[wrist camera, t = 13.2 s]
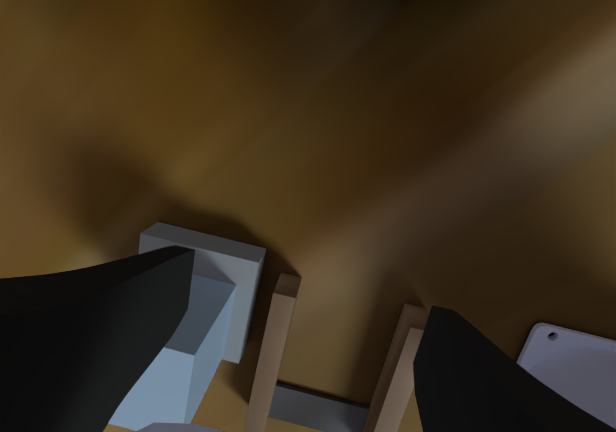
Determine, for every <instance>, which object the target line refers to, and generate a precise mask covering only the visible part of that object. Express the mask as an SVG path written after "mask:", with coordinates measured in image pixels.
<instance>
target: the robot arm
mask: <svg viewBox="0 0 616 432" xmlns="http://www.w3.org/2000/svg"><path fill="white" fill-rule="evenodd" d="M194 256H195V250H194V249H190V248H186V247H181V246H177V245H174V246H168V247H163V248H159V249H156V250H152V251H149V252H145V253H142V254H138V255H135V256H131V257H128V258H124V259H120V260H116V261H112V262H108V263H104V264H100V265H96V266H92V267H87V268H82V269H77V270H72V271H65V272H59V273H53V274H45V275H36V276H25V277H14V278H2V279H0V432H103V430H104V429H105V427H106V426H107V424H108V422H109V421H110V419H111V418H112V416H113V414H114V413H115V411H116V410H117V408H118V406H119V405H120V404H121V402H122V401H123V399H124V398H125V397H126V395H127V394H128V392H129V391H130V390H131V389H132V387H133V386H134V385H135V383H136V382H137V381H138V380H139V378H140V377H141V376H142V375H143V373H144V372H145V371H146V369H147V368H148V367H149V366H150V364H151V363H152V362H153V361H154V359H155V358H156V357H157V355H158V354H159V353H160V352H161V350H162V349H163V348H164V346H165V345H166V344H167V342H168V341H169V340H170V338H171V337H172V336H173V334H174V333H175V331H176V329H177V327H178V326H179V324H180V322H181V321H182V319H183V317H184V315H185V313H186V311H187V310H188V304H189V296H190V288H191V280H192V272H193V264H194ZM552 332H555V333H554V335H553V336H550V337H548V335H549V334H550V333H552ZM413 374H414V387H415V396H416V401H417V405H418V410H419V415H420V419H421V424H422V428H423V432H616V341H615V340H611V339H607V338H603V337H599V336H595V335H591V334H587V333H583V332H579V331H575V330H571V329H567V328H563V327H559V326H555V325H551V324H547V323H538V324H536V325H534V326H533V328H532V330H531V332H530V334H529V336H528V338H527V340H526V343H525V345H524V347H523V349H522V351H521V354H520V356H519V358H518V360H517V362H515V361H513V360H512V359H511V358H510V357H509V356H507V355H506V354H505V353H504V352H503V351H501V350H500V349H499V348H498V347H497V346H496V345H495V344H493V343H492V342H491V341H490V340H489V339H488V338H486V337H485V336H484V335H483V334H482V333H481V332H480V331H479V330H477V329H476V328H475V327H474V326H473V325H472V324H471V323H469V322H468V321H467V320H466V319H465V318H463V317H462V316H461V315H460V314H458V313H457V312H455V311H454V310H450V309H446V308H442V307H437V306H433V305H432V308H431V311H430V314H429V317H428V320H427V323H426V326H425V329H424V332H423V335H422V338H421V341H420V344H419V346H418V349H417V352H416V355H415V358H414V361H413ZM136 432H224V431H220V430H216V429H212V428H208V427H205V426H201V425H197V424H184V423H152V424H150V425H148V426H146V427H144V428H142V429H140V430H138V431H136Z"/></svg>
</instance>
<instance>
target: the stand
mask: <svg viewBox="0 0 616 432" xmlns="http://www.w3.org/2000/svg"><path fill="white" fill-rule="evenodd" d="M174 245H177V246H181V247H186V248H190V249H194V250H195V256H194V264H193V272H192V274H193V275H197V276H201V277H205V278H209V279H213V280H217V281H221V282H225V283H229V284H233V285H237V286H236V291H235V296H234V302H233V307H232V313H231V318H230V323H229V329H228V334H227V339H226V345H225V350H224V355H223V357H222V360H226V361H230V362H234V363H238V364H239V362H240V359H241V357H242V354H243V352H244V350H245V347H246V345H247V342H248V337H249V332H250V327H251V323H252V318H253V313H254V308H255V303H256V298H257V293H258V288H259V283H260V278H261V274H262V269H263V264H264V259H265V254H266V248H262V247H258V246H254V245H250V244H246V243H242V242H238V241H234V240H229V239H225V238H221V237H217V236H213V235H209V234H205V233H201V232H197V231H193V230H189V229H185V228H181V227H177V226H173V225H169V224H165V223H161V222H157V223H155V224H154V225H152V226H151V227H149V228H148V229H146V230H145V231H143V232H142V233H140V243H139V253H138V254H142V253H145V252H149V251H152V250H156V249H159V248H163V247H168V246H174Z"/></svg>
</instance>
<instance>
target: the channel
mask: <svg viewBox="0 0 616 432" xmlns="http://www.w3.org/2000/svg"><path fill="white" fill-rule="evenodd" d="M301 278H302V277H299V276H295V275H291V274H287V273H282V272H281V274H280V277H279V279H278V282H277V284H276V287H275V289H274V292H273V296H272V300H271V305H270V310H269V314H268V319H267V323H266V328H265V333H264V337H263V342H262V346H261V351H260V356H259V360H258V365H257V369H256V374H255V379H254V383H253V388H252V392H251V397H250V402H249V406H248V411H247V415H246V420H245V425H244V429H243V432H264V431H265V427H266V423H267V419H268V417H271V418H275V419H279V420H283V421H286V422H290V423H294V424H298V425H302V426H305V427H309V428H313V429H317V430H321V431H325V432H397V431H398V428H399V425H400V422H401V420H402V417H403V414H404V412H405V409H406V406H407V404H408V401H409V398H410V396H411V393H412V390H413V387H414V374H413V361H414V358H415V355H416V352H417V349H418V346H419V344H420V341H421V338H422V335H423V332H424V329H425V326H426V323H427V320H428V315H427V312H426V309H425V308H423V307H419V306H415V305H411V304H407V303H404V306H403V309H402V312H401V315H400V318H399V321H398V324H397V327H396V330H395V333H394V335H393V338H392V341H391V344H390V347H389V350H388V353H387V356H386V359H385V362H384V365H383V368H382V371H381V374H380V377H379V380H378V383H377V386H376V389H375V392H374V395H373V398H372V401H371V404H370V406H366V405H362V404H358V403H354V402H351V401H347V400H343V399H339V398H335V397H331V396H327V395H324V394H320V393H316V392H312V391H308V390H304V389H300V388H297V387H293V386H289V385H285V384H281V383H277V378H278V374H279V370H280V366H281V361H282V357H283V353H284V349H285V345H286V341H287V336H288V332H289V328H290V324H291V320H292V315H293V311H294V307H295V303H296V299H297V295H298V290H299V286H300V282H301Z"/></svg>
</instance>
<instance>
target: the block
mask: <svg viewBox="0 0 616 432" xmlns="http://www.w3.org/2000/svg"><path fill="white" fill-rule="evenodd" d="M236 286H237V285H233V284H229V283H225V282H221V281H217V280H213V279H209V278H205V277H201V276H197V275H193V274H192V280H191V288H190V296H189V304H188V310H187V311H186V313H185V315H184V317H183V319H182V321H181V322H180V324H179V326H178V327H177V329H176V331H175V333H174V334H173V336H172V337H171V338H170V340H169V341H168V342H167V344H166V345H165V346H164V348H163V349H162V350H161V352H160V353H159V354H158V355H157V357H156V358H155V359H154V361H153V362H152V363H151V364H150V366H149V367H148V368H147V369H146V371H145V372H144V373H143V375H142V376H141V377H140V378H139V380H138V381H137V382H136V383H135V385H134V386H133V387H132V389H131V390H130V391H129V392H128V394H127V395H126V397H125V398H124V399H123V401H122V402H121V404H120V405H119V406H118V408H117V410H116V411H115V413H114V414H113V416H112V418H111V419H110V421H109V422H108V423H109V424H113V425H116V426H120V427H124V428H128V429H131V430H135V431H138V430H140V429H142V428H144V427H146V426H148V425H150V424H152V423H184V424H190V423H191V421H192V419H193V416H194V414H195V412H196V410H197V408H198V406H199V404H200V402H201V400H202V398H203V396H204V394H205V392H206V390H207V388H208V386H209V384H210V382H211V380H212V378H213V376H214V374H215V372H216V370H217V368H218V365H219V363H220V361H221V359H222V357H223V355H224V350H225V345H226V339H227V334H228V329H229V323H230V318H231V313H232V307H233V302H234V296H235V291H236Z"/></svg>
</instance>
